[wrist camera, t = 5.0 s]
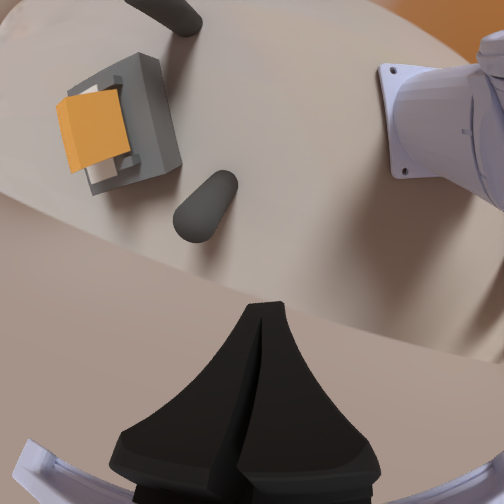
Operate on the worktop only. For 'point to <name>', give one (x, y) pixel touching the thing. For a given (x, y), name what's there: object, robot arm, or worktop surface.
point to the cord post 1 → (171, 15)
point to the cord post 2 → (205, 207)
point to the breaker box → (135, 123)
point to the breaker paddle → (92, 128)
